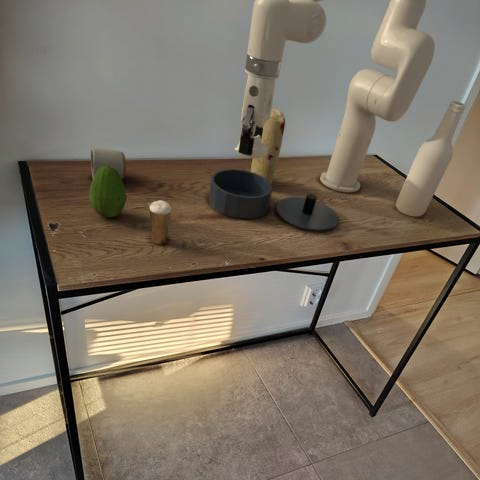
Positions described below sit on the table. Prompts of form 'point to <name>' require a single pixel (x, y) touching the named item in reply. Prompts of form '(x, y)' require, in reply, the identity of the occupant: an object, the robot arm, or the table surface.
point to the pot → (240, 193)
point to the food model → (270, 145)
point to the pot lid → (307, 213)
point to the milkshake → (159, 220)
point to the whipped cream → (257, 148)
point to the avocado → (107, 192)
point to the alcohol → (430, 165)
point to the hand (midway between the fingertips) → (249, 147)
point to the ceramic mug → (108, 160)
